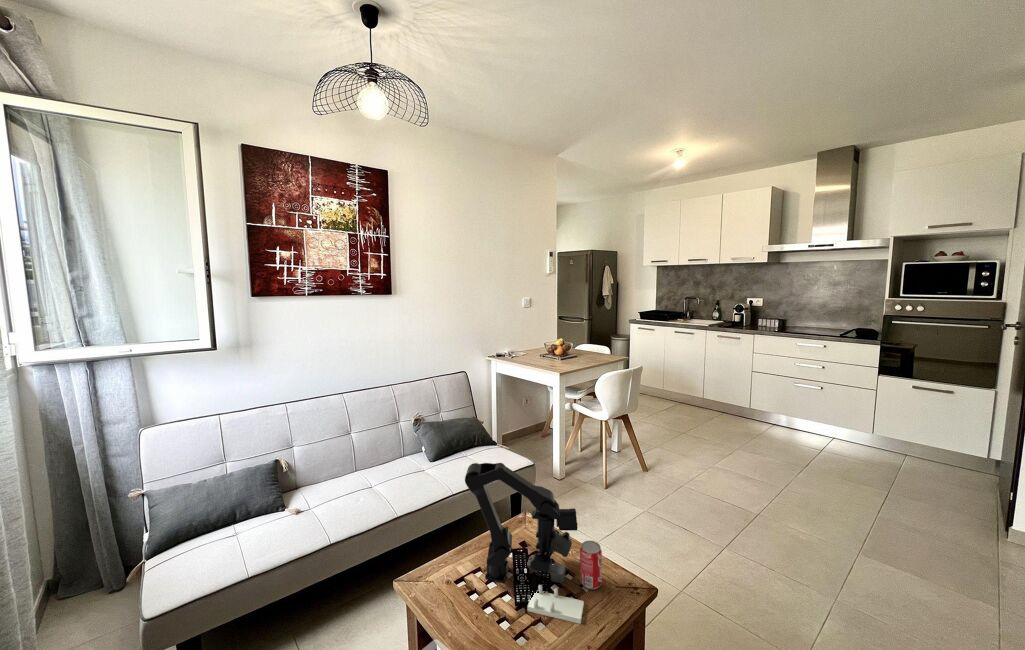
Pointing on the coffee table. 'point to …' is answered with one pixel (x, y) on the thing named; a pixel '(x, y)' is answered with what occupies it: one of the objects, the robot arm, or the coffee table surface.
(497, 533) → the robot arm
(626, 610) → the coffee table surface
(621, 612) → the coffee table surface
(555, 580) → the grey t-shaped plate
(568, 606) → the rack
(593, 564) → the soda can
